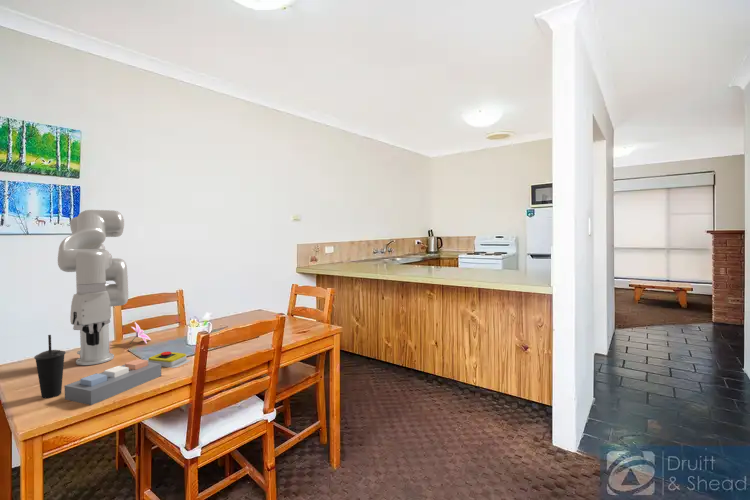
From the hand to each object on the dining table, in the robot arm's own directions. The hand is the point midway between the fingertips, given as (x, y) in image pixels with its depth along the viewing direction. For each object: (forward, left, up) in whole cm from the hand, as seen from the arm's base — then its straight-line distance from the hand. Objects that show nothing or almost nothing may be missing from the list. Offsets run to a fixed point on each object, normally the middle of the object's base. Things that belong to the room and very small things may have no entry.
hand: (92, 344), depth 119 cm
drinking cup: (-14, -4, -17) cm, 22 cm away
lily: (-39, +48, -17) cm, 64 cm away
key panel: (0, +8, -17) cm, 19 cm away
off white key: (0, +8, -14) cm, 16 cm away
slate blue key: (0, 0, -14) cm, 14 cm away
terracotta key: (0, +15, -14) cm, 20 cm away
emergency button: (-4, +32, -18) cm, 37 cm away
